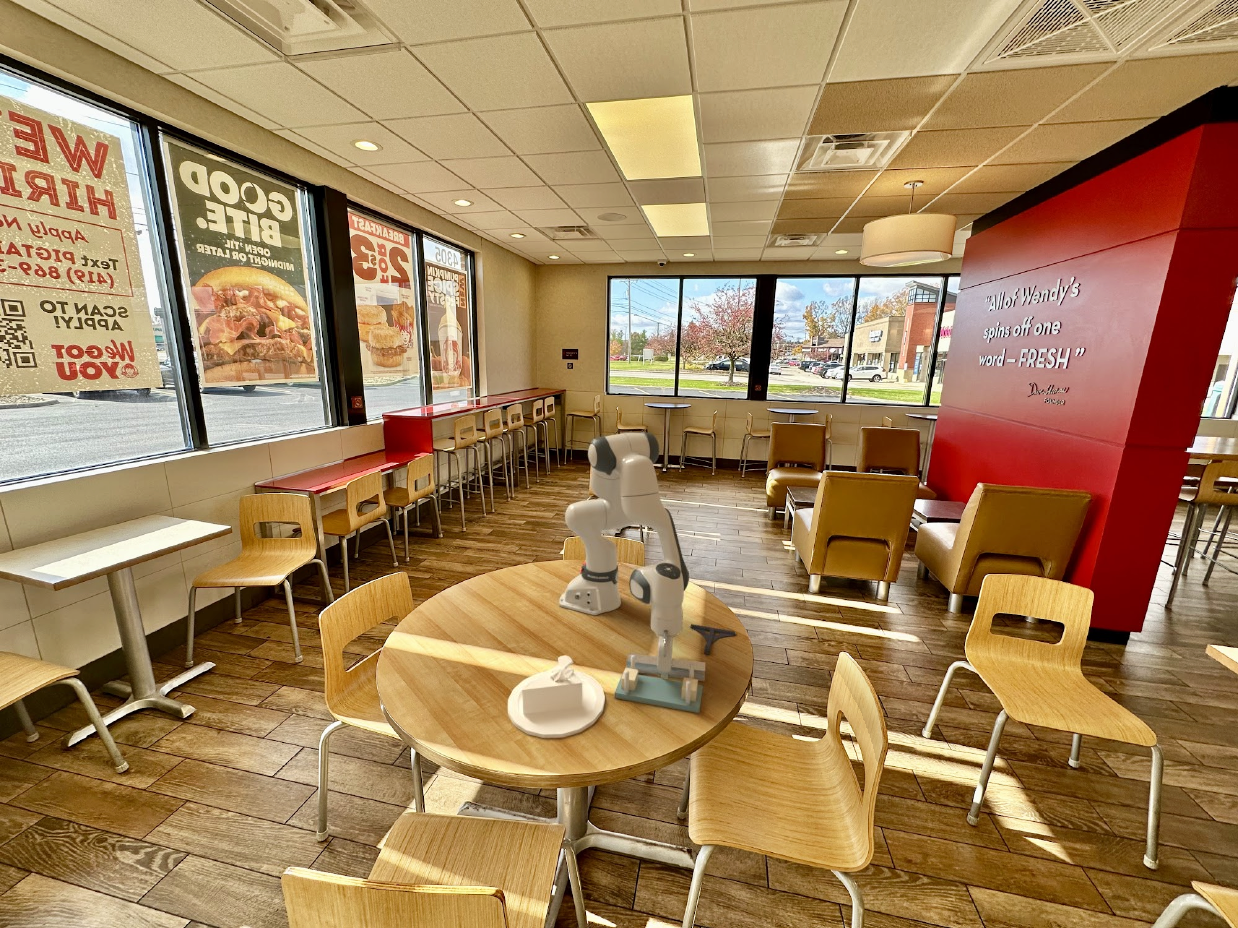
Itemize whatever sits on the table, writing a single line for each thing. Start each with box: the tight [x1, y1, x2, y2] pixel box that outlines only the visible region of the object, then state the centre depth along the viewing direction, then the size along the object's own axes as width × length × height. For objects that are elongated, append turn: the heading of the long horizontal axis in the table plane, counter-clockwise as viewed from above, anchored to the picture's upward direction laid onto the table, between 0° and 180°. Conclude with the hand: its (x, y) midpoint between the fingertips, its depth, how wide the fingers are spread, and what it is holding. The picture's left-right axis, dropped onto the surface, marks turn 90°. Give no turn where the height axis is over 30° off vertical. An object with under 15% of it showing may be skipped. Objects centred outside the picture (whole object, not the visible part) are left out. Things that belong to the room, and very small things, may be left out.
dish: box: [507, 655, 606, 739], centre depth 127 cm, size 25×25×11 cm
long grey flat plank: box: [625, 653, 706, 682], centre depth 140 cm, size 22×4×4 cm, turn 79°
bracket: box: [689, 623, 736, 656], centre depth 156 cm, size 14×15×3 cm
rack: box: [614, 655, 704, 714], centre depth 130 cm, size 22×9×8 cm, turn 75°
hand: (665, 666), depth 140 cm, fingers open, 8 cm apart
